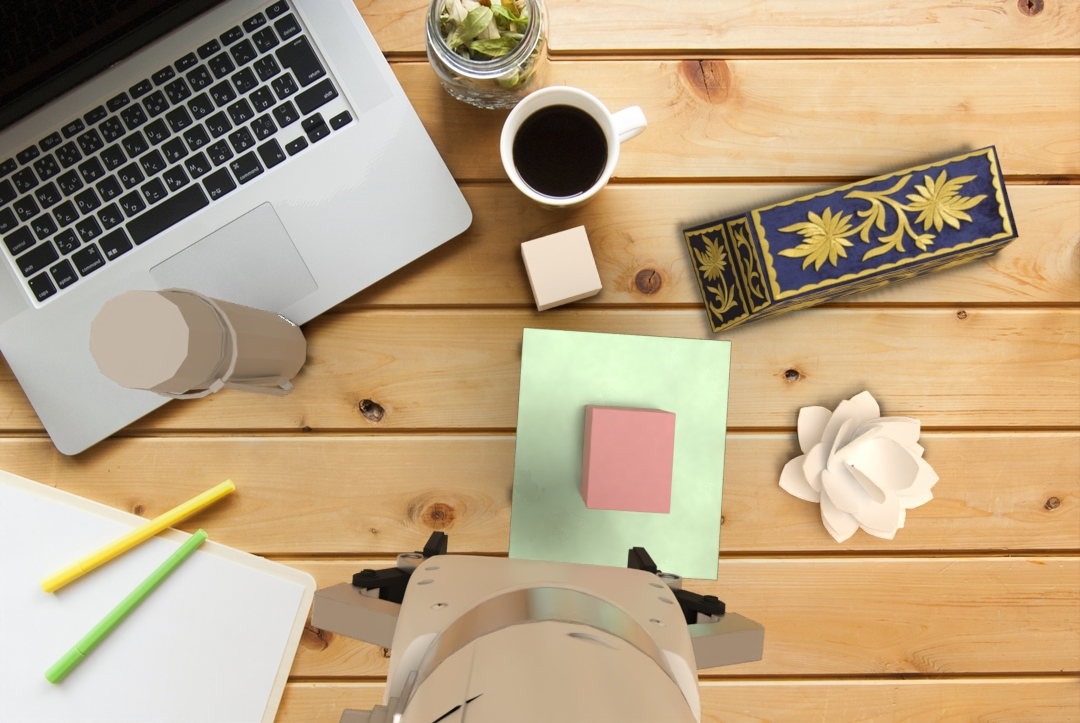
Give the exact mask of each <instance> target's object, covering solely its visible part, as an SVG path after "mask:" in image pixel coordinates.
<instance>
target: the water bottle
mask: <svg viewBox="0 0 1080 723" xmlns="http://www.w3.org/2000/svg"><path fill="white" fill-rule="evenodd" d="M275 313H276V312H272V311H268V310H263V309H259V308H255V307H252V306H251V307H250V306H247V305H243V304H239V303H235V302H231V301H226V300H223V299H217V298H213V297H210V296H206V295H204V294H203V293H200V292H198V291H196V290H193V289H187V288H181V287H175V286H174V287H169V288H163V289H160V290H137V289H136V290H134V289H129V290H127V291H124V292H122V293H120V294H118V295H117V296H115V297H112V298H110V299H108V300H106V301H105V302H104V304H103V305H102V306H101V308H100V309H99V311H98V312H97V314H96V315H95V317H94V318H93V320H92V321H91V323H90V332H89V344H88V350H89V352H90V355H91V356H92V358H93V361H94V363H95V364H96V366H97V369H98V370H99V372H100V374H102V375H103V376H105V377H106V378H108V379H109V380H110V381H112V382H114V383H116V384H117V385H118V386H120V387H122V388H126V389H133V390H139V391H148V392H151V393H154V394H156V395H157V396H160V397H165V398H171V399H176V400H177V399H178V400H190V399H202V398H205V397H207V396H208V395H211V394H212V393H213V394H216V393H218V392H220V391H221V390H223V389H224V390H231V391H238V392H239V391H240V392H246V393H255V394H260V395H267V396H274V397H286V396H288V395H289V394H290V393H292V392H293V391H294V390H295V389H296V388H295V386H294V384H293V383H292V382H291V381H290V380H292V379H294V378H296V376H297V375H298V373H299V372H300V370H301V369H302V367H303V366H304V365H305V363H306V359H307V346H308V345H307V344H308V342H307V340H306V338H305V336H304V334H303V332H302V330H301V327H300V326H299V325H298V327H293V326H292V324H291V323H289V322H288V321H286V320H285V319H283V318H281V317H280V316H278V315H277V314H278V313H276V314H275ZM272 386H273V387H272ZM274 386H275V387H274ZM277 386H279V387H280V388H277ZM189 390H191V391H192V390H202V391H199V392H193V393H185V392H186V391H189Z"/></svg>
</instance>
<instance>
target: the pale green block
mask: <svg viewBox="0 0 1080 723" xmlns="http://www.w3.org/2000/svg"><path fill="white" fill-rule="evenodd" d="M732 344H733V343H732V340H728V339H727V340H725V339H709V338H696V337H695V338H694V337H682V336H681V337H680V336H679V337H678V336H664V335H663V336H662V335H651V334H650V335H649V334H633V333H618V332H603V331H587V330H571V329H557V328H543V327H541V328H539V327H526V326H525V327H523V328H522V337H521V351H520V354H521V355H520V367H519V369H520V370H519V384H518V399H517V415H516V416H517V417H516V429H515V443H514V444H515V445H514V446H515V447H514V448H515V449H514V462H513V478H512V490H511V492H512V494H511V507H510V508H511V509H510V524H509V539H508V555H507V558H516V559H529V560H543V561H555V562H568V563H580V564H591V565H603V566H613V567H623V568H627V563H628V552H629V549H633V547H644V548H645V550H646V551H647V553H648V554H649V555H650V557H651V558H652V560H653V561H654V562H655V564H656V565H657V570H661V571H662V573H672V574H676V575H679V576H681V577H682V580H683V579H685V580H699V581H700V580H701V581H718V578H719V564H720V546H721V544H720V543H721V530H722V528H721V526H722V515H723V514H722V513H723V497H724V496H723V495H724V494H723V493H724V480H725V463H726V462H725V461H726V446H727V444H726V443H727V442H726V441H727V431H728V430H727V427H728V410H729V396H730V394H729V393H730V379H731V378H730V377H731V363H732V362H731V359H732V358H731V357H732V346H733V345H732ZM586 405H600V406H616V407H632V408H648V409H661V410H664V411H668V412H672V413H675V414H676V419H675V436H674V452H673V469H672V485H671V502H670V513H669V514H667V513H651V512H634V511H618V510H602V509H587V508H586V506H585V503H584V501H583V499H582V497H581V494H580V493H581V477H582V461H583V445H584V430H585V414H586Z"/></svg>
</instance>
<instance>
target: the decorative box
mask: <svg viewBox="0 0 1080 723" xmlns="http://www.w3.org/2000/svg"><path fill="white" fill-rule="evenodd" d="M1010 201H1011V200H1010V197H1009V194H1008V189H1007V185H1006V182H1005V178H1004V175H1003V172H1002V166H1001V164H1000V159H999V155H998V152H997V148H996V145H995V144H992V145H988V146H983V147H981V148H977V149H973V150H970V151H966V152H962V153H959V154H954V155H952V156H948V157H943V158H940V159H936V160H933V161H929V162H926V163H921V164H918V165H915V166H911V167H907V168H904V169H900V170H896V171H893V172H889V173H886V174H882V175H881V174H880V175H878V176H874V177H870V178H866V179H863V180H859V181H855V182H852V183H849V184H845V185H840V186H837V187H834V188H830V189H827V190H822V191H818V192H815V193H812V194H808V195H803V196H800V197H796V198H793V199H789V200H786V201H782V202H778V203H774V204H770V205H767V206H764V207H760V208H756V209H753V210H749V211H745V212H742V213H739V214H735V215H730V216H728V217H724V218H721V219H717V220H714V221H710V222H706V223H702V224H700V225H696V226H692V227H689V228H685V229H682V233H683V236H684V240H685V244H686V247H687V250H688V253H689V257H690V260H691V264H692V267H693V270H694V274H695V277H696V281H697V284H698V287H699V290H700V294H701V297H702V298H701V299H702V301H703V305H704V308H705V311H706V314H707V318H708V321H709V325H710V328H711V332H712V334H716V333H720V332H723V331H727V330H732V329H734V328H738V327H741V326H745V325H749V324H752V323H756V322H760V321H764V320H768V319H771V318H774V317H778V316H781V315H786V314H789V313H793V312H796V311H799V310H803V309H807V308H812V307H815V306H819V305H822V304H826V303H830V302H833V301H836V300H840V299H844V298H848V297H851V296H854V295H855V296H856V295H858V294H862V293H866V292H869V291H873V290H876V289H880V288H884V287H889V286H891V285H894V284H899V283H902V282H905V281H910V280H914V279H917V278H920V277H924V276H927V275H931V274H934V273H935V274H936V273H938V272H941V271H942V272H943V271H946V270H949V269H954V268H957V267H961V266H964V265H968V264H972V263H974V262H975V263H976V262H978V261H983V260H986V259H990V258H993V257H995V256H997V255H998V254H999V253H1000V252H1001V251H1003V250H1004V249H1006V248H1007V247H1008V246H1009V245H1011V244H1012V243H1013V242H1014V241H1015V240H1017V239H1018V238H1020V236H1019V232H1018V227H1017V224H1016V220H1015V216H1014V213H1013V209H1012V206H1011V202H1010Z"/></svg>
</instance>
